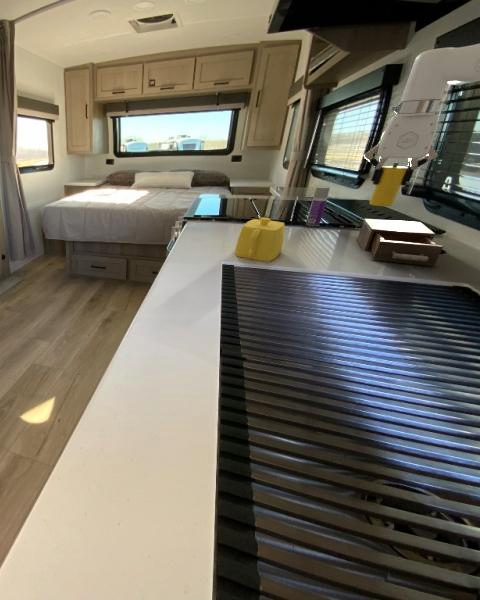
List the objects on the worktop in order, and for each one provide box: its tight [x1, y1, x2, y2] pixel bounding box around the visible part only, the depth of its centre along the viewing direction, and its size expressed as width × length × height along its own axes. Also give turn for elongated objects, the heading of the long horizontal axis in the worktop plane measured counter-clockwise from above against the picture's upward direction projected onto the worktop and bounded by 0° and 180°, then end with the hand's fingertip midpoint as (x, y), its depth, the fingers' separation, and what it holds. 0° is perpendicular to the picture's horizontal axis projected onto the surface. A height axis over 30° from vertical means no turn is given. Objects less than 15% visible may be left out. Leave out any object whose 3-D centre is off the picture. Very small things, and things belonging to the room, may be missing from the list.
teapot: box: [235, 217, 285, 263], centre depth 107 cm, size 20×12×12 cm, turn 138°
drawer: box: [369, 232, 444, 267], centre depth 98 cm, size 18×13×6 cm
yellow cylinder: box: [368, 161, 408, 207], centre depth 92 cm, size 5×5×11 cm
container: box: [305, 185, 331, 227], centre depth 134 cm, size 5×5×15 cm
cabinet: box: [356, 218, 436, 252], centre depth 107 cm, size 15×15×8 cm
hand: (388, 183), depth 92 cm, fingers closed on yellow cylinder, 5 cm apart
